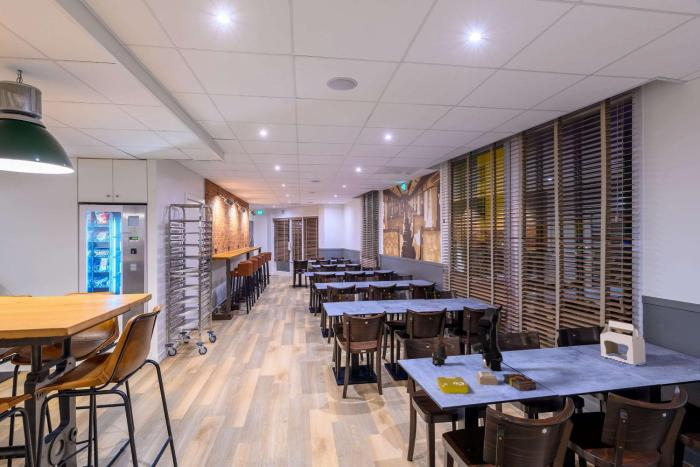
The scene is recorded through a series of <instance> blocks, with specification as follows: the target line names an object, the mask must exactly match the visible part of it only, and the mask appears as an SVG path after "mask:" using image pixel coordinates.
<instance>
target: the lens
mask: <svg viewBox="0 0 700 467" xmlns="http://www.w3.org/2000/svg"><path fill="white" fill-rule="evenodd" d="M481 359H482V368H483V369H485V370H489V369H490V368H491V363H490V365H489V366H487V365H486V360H485V357H483V356H482V357H481ZM490 370H491V369H490Z"/></svg>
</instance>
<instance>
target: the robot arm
mask: <svg viewBox="0 0 700 467" xmlns="http://www.w3.org/2000/svg"><path fill="white" fill-rule="evenodd" d="M500 319H501V312H500V311H499V310H498V309H496V308H495V307H486V310H485V313H484V315H483V316H482V317H480V319H479V320H478V324H477V329H476V330H477V331H479V333H478V334H477V336H476V340H477V341H478V342H476V343H473V344H471V345H470V346H471V349H472V351H473V352H474V353H476V352H479V353H480V354H481V355H482V357H485V360H486V365H487V366H489V365H490V363H491V368H490V371H492V372H503V371H502V366H501V365H502V364H501V363H502V362H504V357H503V354H502V352H501V348H500V347H499V343H498V341H499V340H498V323H499V321H500Z"/></svg>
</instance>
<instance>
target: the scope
mask: <svg viewBox="0 0 700 467" xmlns="http://www.w3.org/2000/svg"><path fill="white" fill-rule="evenodd" d="M431 354H432V355H431V364H432V363H433V364H432V365H435V366H434V367H437V365H440V366H441V365H444V364H446V362H445V361H446V360H447V359H448V356H447V355H446V344H444V343H439V344H437V355H436V356H435V355H434V352H432V353H431ZM444 366H445V365H444Z"/></svg>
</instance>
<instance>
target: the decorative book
mask: <svg viewBox="0 0 700 467" xmlns="http://www.w3.org/2000/svg"><path fill="white" fill-rule="evenodd" d="M502 376H503V380H502V381H503V382H504V383H506V384H508V385H509V386H510V387H513V388H515V390H517V391H519V392H520V391H521V392H524V391H528V390H537V388H536V386H537V383H536V381H534V380H533V379H532V378H529V377H526V376H525V375H524V374H520V373H510V374H509V373H503V374H502Z"/></svg>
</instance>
